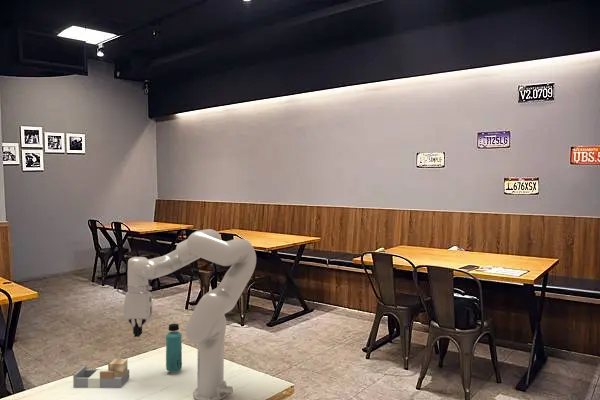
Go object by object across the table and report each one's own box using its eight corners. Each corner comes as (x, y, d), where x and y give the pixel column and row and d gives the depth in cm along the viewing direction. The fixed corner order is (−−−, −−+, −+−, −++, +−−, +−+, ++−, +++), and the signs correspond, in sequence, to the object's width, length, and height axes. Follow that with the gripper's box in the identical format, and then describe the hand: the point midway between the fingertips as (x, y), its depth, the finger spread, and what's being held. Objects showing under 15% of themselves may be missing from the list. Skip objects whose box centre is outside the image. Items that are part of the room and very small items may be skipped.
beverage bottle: (177, 376, 188) (177, 327, 187) (162, 374, 189) (162, 326, 189) (184, 369, 194) (184, 322, 194) (170, 368, 196) (170, 321, 195)
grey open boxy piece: (129, 378, 186) (129, 363, 185) (120, 387, 177) (120, 372, 176) (84, 377, 185) (84, 363, 185) (73, 387, 176) (73, 372, 176)
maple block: (127, 371, 183) (127, 358, 183) (122, 376, 178) (122, 363, 178) (114, 371, 183) (114, 358, 183) (109, 376, 178) (109, 363, 178)
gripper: (160, 287, 184) (159, 333, 184) (122, 286, 184) (122, 332, 184) (154, 291, 176) (153, 339, 177) (114, 291, 176) (114, 338, 177)
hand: (137, 335), depth 181 cm, fingers closed
